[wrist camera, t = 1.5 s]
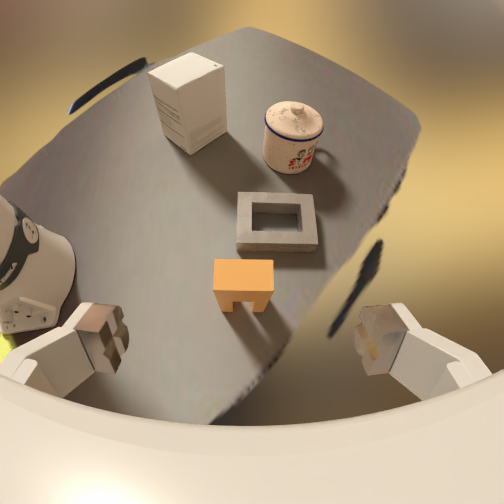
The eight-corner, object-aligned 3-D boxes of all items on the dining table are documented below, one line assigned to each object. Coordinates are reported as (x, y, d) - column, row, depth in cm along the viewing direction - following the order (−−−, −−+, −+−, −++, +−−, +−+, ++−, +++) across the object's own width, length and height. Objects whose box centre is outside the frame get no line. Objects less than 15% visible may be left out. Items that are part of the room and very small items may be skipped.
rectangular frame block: (313, 252, 40) (318, 244, 37) (236, 251, 39) (236, 242, 37) (308, 204, 43) (312, 194, 40) (237, 202, 42) (237, 191, 40)
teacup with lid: (292, 185, 44) (305, 134, 33) (250, 156, 46) (253, 104, 35) (329, 149, 48) (347, 102, 37) (291, 124, 50) (300, 77, 39)
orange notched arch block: (263, 290, 37) (273, 259, 26) (263, 312, 36) (273, 290, 25) (222, 289, 37) (214, 258, 26) (221, 311, 36) (213, 290, 25)
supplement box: (198, 111, 50) (191, 50, 36) (228, 131, 48) (226, 65, 34) (162, 134, 48) (145, 71, 34) (189, 157, 46) (176, 89, 32)
